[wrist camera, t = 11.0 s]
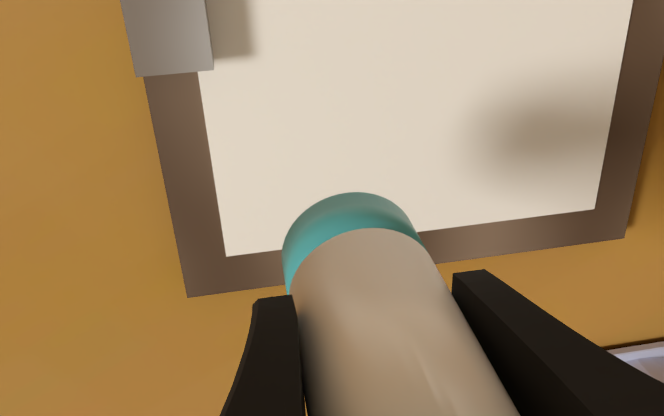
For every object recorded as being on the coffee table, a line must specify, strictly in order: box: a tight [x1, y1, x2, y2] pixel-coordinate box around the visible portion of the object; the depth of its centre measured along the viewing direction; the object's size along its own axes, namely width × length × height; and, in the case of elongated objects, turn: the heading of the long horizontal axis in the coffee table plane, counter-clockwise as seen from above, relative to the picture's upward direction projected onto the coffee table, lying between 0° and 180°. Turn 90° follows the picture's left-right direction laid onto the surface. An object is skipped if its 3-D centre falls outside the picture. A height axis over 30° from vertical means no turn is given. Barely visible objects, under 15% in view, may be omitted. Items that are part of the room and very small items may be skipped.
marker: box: [281, 192, 520, 416], centre depth 9 cm, size 3×3×9 cm
